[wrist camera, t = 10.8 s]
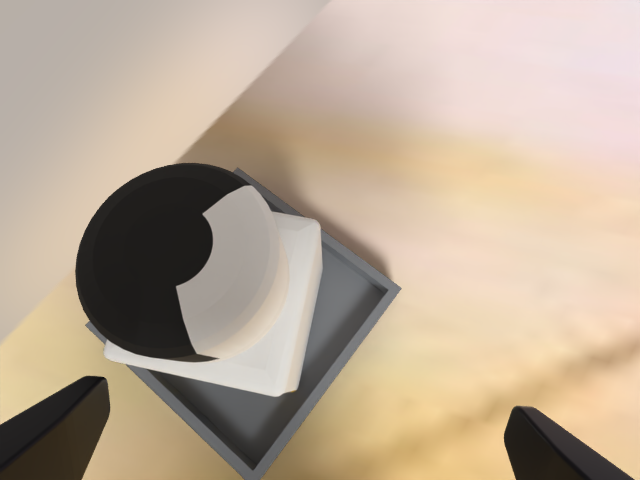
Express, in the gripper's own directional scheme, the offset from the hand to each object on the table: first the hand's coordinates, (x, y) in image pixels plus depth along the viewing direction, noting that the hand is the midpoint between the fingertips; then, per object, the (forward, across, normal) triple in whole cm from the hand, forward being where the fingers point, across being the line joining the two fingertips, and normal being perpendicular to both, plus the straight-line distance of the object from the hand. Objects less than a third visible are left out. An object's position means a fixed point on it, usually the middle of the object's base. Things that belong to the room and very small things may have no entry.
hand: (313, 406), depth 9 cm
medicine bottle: (+13, +3, +6) cm, 14 cm away
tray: (+13, +3, +6) cm, 15 cm away
